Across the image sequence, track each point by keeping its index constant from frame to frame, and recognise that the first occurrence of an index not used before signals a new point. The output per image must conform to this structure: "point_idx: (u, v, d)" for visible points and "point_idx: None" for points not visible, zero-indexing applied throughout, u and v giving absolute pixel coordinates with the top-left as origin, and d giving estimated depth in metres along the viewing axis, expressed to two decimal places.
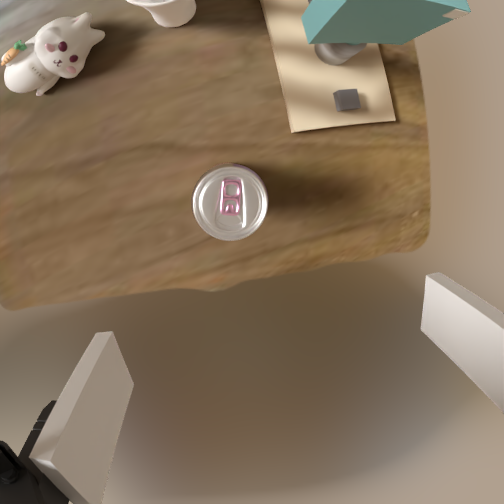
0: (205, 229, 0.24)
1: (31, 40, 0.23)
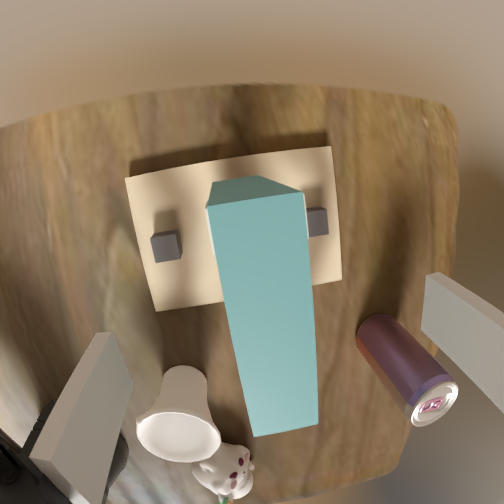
0: (442, 415, 0.24)
1: (214, 489, 0.36)
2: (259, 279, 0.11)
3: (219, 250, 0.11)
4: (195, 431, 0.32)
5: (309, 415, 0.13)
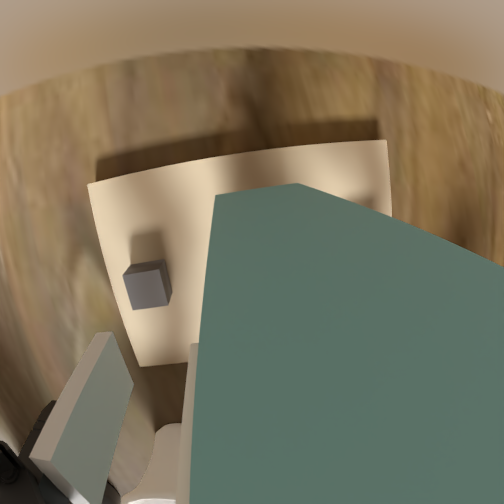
0: None
1: None
2: None
3: None
4: None
5: None
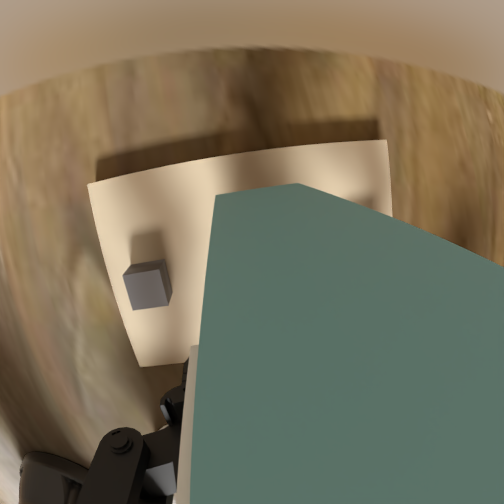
0: None
1: None
2: None
3: None
4: None
5: None
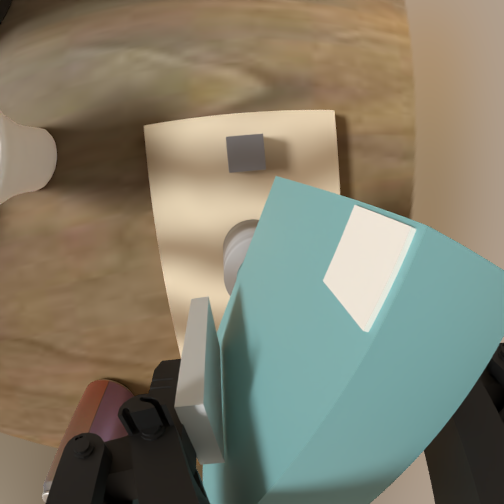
0: None
1: None
2: (400, 403, 0.05)
3: (386, 330, 0.04)
4: None
5: None
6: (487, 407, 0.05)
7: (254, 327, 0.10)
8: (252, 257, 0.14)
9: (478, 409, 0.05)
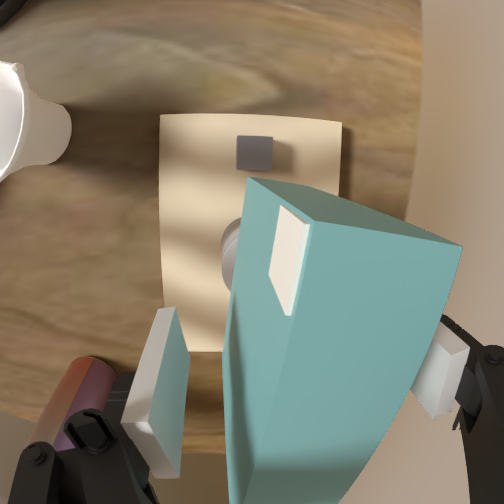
0: None
1: None
2: (347, 372, 0.06)
3: (303, 313, 0.05)
4: None
5: None
6: None
7: (242, 320, 0.11)
8: (239, 255, 0.15)
9: None
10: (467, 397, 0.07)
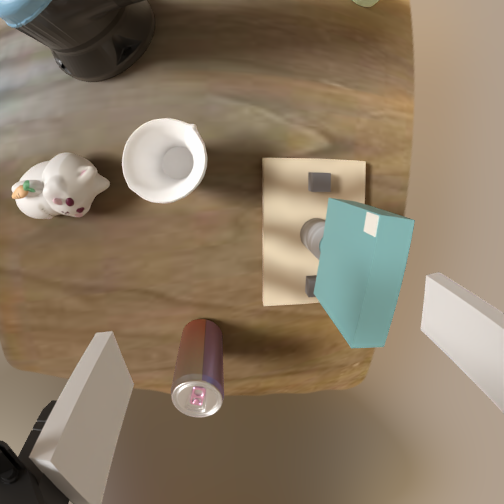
0: (178, 409, 0.32)
1: (39, 175, 0.32)
2: (388, 253, 0.22)
3: (378, 235, 0.22)
4: (145, 172, 0.33)
5: (382, 339, 0.25)
6: None
7: (342, 256, 0.28)
8: (329, 235, 0.32)
9: None
10: None
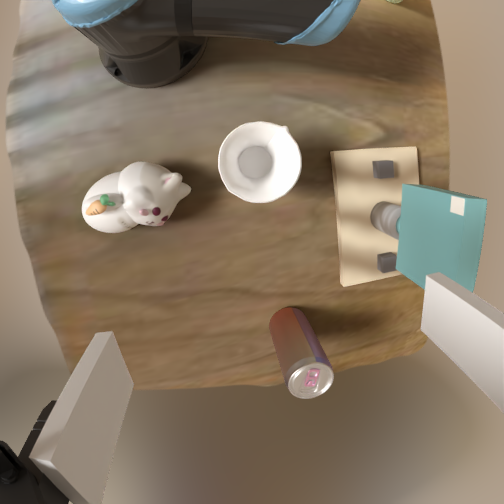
0: (293, 394, 0.35)
1: (114, 188, 0.35)
2: (472, 227, 0.25)
3: (465, 214, 0.24)
4: (235, 174, 0.36)
5: None
6: None
7: (428, 234, 0.30)
8: (408, 216, 0.34)
9: None
10: None
